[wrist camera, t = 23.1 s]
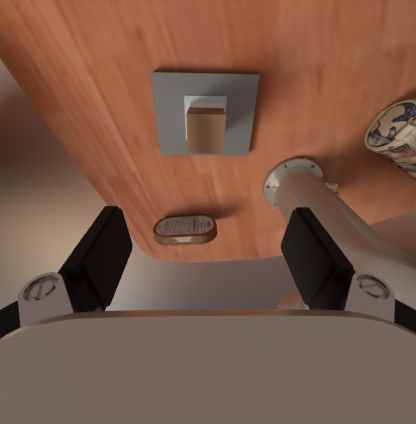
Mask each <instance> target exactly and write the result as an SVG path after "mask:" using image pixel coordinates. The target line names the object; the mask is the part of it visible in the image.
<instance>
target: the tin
mask: <svg viewBox="0 0 416 424" xmlns="http://www.w3.org/2000/svg"><path fill="white" fill-rule="evenodd" d="M153 233H154V239H155V241H156V242H157V243H158V244H160V245H163V246H177V245H199V244H205V243H208V242H210V241H212V240H213V239H214V238H215V237H216V235H217V225H216V222H215V220H214V219H213V218H211V217H209V216H206V215H191V216H172V217H167V218H164V219H162V220H160V221H158V222H157V223H156V225H155V226H154V228H153Z"/></svg>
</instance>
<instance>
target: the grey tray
mask: <svg viewBox="0 0 416 424" xmlns="http://www.w3.org/2000/svg"><path fill="white" fill-rule="evenodd" d="M259 78H260V75H259V74H220V73H174V72H151V80H152V88H153V95H154V103H155V111H156V119H157V127H158V135H159V142H160V150H161V155H230V156H248V154H249V147H250V140H251V133H252V126H253V120H254V113H255V106H256V99H257V92H258V85H259ZM190 103H221V105H222V107H223V109H224V111H225V113H226V125H225V139H224V152H223V154H207V153H188V144H187V116H186V114H187V111H188V108H189V106H190Z"/></svg>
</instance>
